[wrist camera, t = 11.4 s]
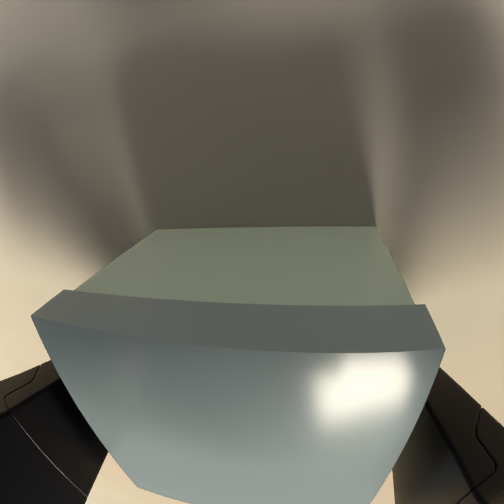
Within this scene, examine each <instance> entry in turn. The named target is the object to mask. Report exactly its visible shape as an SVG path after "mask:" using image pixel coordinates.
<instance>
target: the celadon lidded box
mask: <svg viewBox="0 0 504 504" xmlns="http://www.w3.org/2000/svg"><path fill="white" fill-rule="evenodd" d="M31 317H32V320H33V322H34V325H35V327H36V329H37V331H38V334H39V336H40V338H41V340H42V342H43V344H44V346H45V348H46V351H47V353H48V355H49V357H50V359H51V361H52V362H53V364H54V366H55V368H56V370H57V372H58V374H59V376H60V377H61V379H62V381H63V383H64V385H65V386H66V388H67V390H68V392H69V393H70V395H71V397H72V398H73V400H74V402H75V403H76V405H77V407H78V408H79V410H80V411H81V413H82V414H83V416H84V418H85V419H86V421H87V422H88V424H89V425H90V427H91V428H92V429H93V431H94V432H95V434H96V435H97V437H98V438H99V439H100V441H101V442H102V444H103V445H104V446H105V448H106V449H107V450H108V452H109V453H110V454H111V456H112V457H113V458H114V460H115V461H116V462H117V463H118V465H119V466H120V467H121V468H122V470H123V471H124V472H125V473H126V474H127V476H128V477H129V478H130V479H131V480H132V482H133V483H134V484H135V485H136V486H137V487H138V488H141V489H144V490H147V491H150V492H153V493H156V494H159V495H162V496H165V497H168V498H172V499H175V500H179V501H183V502H186V503H190V504H370V503H371V502H372V500H373V499H374V497H375V496H376V494H377V493H378V491H379V490H380V488H381V486H382V485H383V483H384V482H385V480H386V478H387V477H388V475H389V473H390V472H391V470H392V468H393V466H394V465H395V463H396V461H397V459H398V457H399V456H400V454H401V452H402V450H403V448H404V446H405V444H406V442H407V440H408V439H409V437H410V435H411V432H412V430H413V428H414V426H415V424H416V422H417V420H418V418H419V416H420V413H421V411H422V409H423V407H424V404H425V402H426V400H427V397H428V395H429V392H430V390H431V387H432V385H433V382H434V380H435V377H436V375H437V372H438V369H439V366H440V364H441V361H442V358H443V355H444V352H445V346H444V344H443V342H442V340H441V337H440V335H439V333H438V331H437V329H436V326H435V324H434V322H433V320H432V318H431V316H430V314H429V312H428V309H427V307H426V305H425V304H421V305H415V304H414V302H413V299H412V297H411V295H410V293H409V291H408V288H407V286H406V284H405V282H404V280H403V278H402V276H401V274H400V272H399V270H398V268H397V266H396V264H395V262H394V260H393V258H392V256H391V254H390V252H389V250H388V248H387V246H386V244H385V242H384V240H383V238H382V237H381V235H380V233H379V231H378V229H377V227H366V226H305V227H229V228H188V229H157V230H155V231H154V232H152V233H151V234H150V235H148V236H147V237H145V238H144V239H142V240H141V241H140V242H138V243H137V244H135V245H134V246H133V247H131V248H130V249H128V250H127V251H126V252H124V253H123V254H121V255H120V256H119V257H117V258H116V259H115V260H113V261H112V262H111V263H109V264H108V265H107V266H105V267H104V268H103V269H101V270H100V271H99V272H97V273H96V274H95V275H93V276H92V277H91V278H89V279H88V280H87V281H85V282H84V283H83V284H82V285H80V286H79V287H78V288H76V289H75V290H74V291H72V290H63V291H61V292H60V293H59V294H57V295H56V296H55V297H54V298H52V299H51V300H50V301H48V302H47V303H46V304H45V305H43V306H42V307H41V308H40V309H38V310H37V311H36V312H35V313H33V314H32V315H31Z"/></svg>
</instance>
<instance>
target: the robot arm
mask: <svg viewBox="0 0 504 504" xmlns="http://www.w3.org/2000/svg"><path fill="white" fill-rule="evenodd" d="M107 454H108V450H107V449H106V448H105V446H104V445H103V444H102V442H101V441H100V439H99V438H98V437H97V435H96V434H95V432H94V431H93V429H92V428H91V427H90V425H89V424H88V422H87V421H86V419H85V418H84V416H83V414H82V413H81V411H80V410H79V408H78V407H77V405H76V403H75V402H74V400H73V398H72V397H71V395H70V393H69V392H68V390H67V388H66V386H65V385H64V383H63V381H62V379H61V377H60V376H59V374H58V372H57V370H56V368H55V366H54V364H53V362H52V361H51V360H50V361H47V362H45V363H43V364H41V366H40V365H38V366H36V367H34V368H32V369H29V370H27V371H25V372H22V373H20V374H18V375H15V376H12V377H10V378H7V379H4V380H2V381H0V504H85V502H86V500H87V497H88V495H89V493H90V491H91V488H92V486H93V484H94V482H95V480H96V477H97V475H98V473H99V471H100V469H101V466H102V464H103V462H104V460H105V458H106V456H107ZM392 472H393V483H394V495H395V504H504V427H503V426H502V425H501V424H500V423H499V422H498V421H497V420H496V419H495V418H494V417H492V416H491V415H490V414H489V413H488V412H487V411H486V410H485V409H484V408H481V405H480V404H479V403H478V402H477V401H476V400H475V399H473V398H472V397H471V396H470V395H469V394H468V393H467V392H466V391H465V390H464V389H463V388H462V387H461V386H460V385H459V384H458V383H456V382H455V381H454V380H453V379H452V378H451V377H450V376H449V375H448V374H447V373H446V372H445V371H443V370H442V369H441V368H440V367H439V369H438V372H437V375H436V377H435V380H434V382H433V385H432V387H431V390H430V392H429V395H428V397H427V400H426V402H425V404H424V407H423V409H422V411H421V413H420V416H419V418H418V420H417V422H416V424H415V426H414V428H413V430H412V432H411V435H410V437H409V439H408V440H407V442H406V444H405V446H404V448H403V450H402V452H401V454H400V456H399V457H398V459H397V461H396V463H395V465H394V466H393V468H392Z"/></svg>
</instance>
